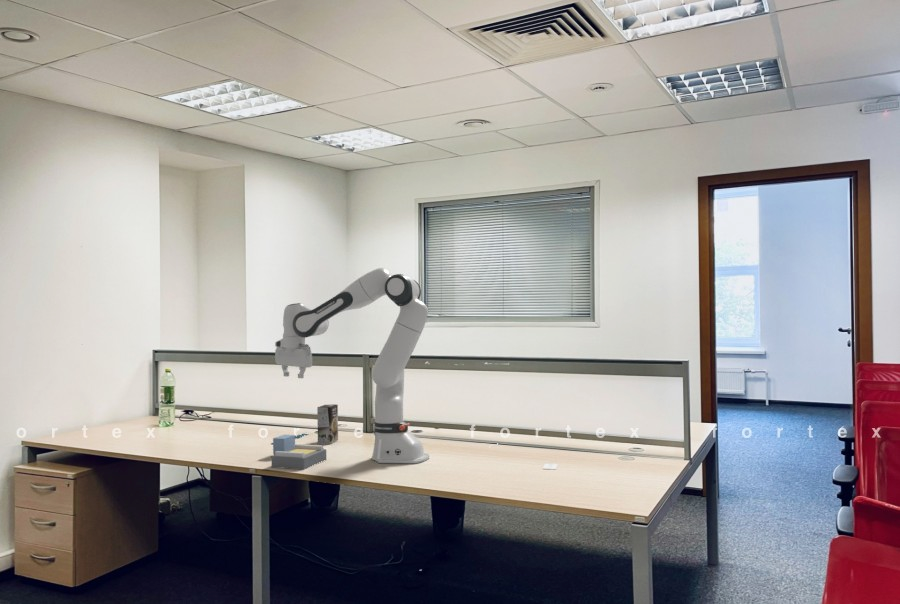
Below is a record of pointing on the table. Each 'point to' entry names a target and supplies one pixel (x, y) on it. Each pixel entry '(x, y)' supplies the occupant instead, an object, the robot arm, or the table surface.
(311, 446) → the dock
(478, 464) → the table surface
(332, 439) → the coffee box
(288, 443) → the cart
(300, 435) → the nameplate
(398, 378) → the robot arm
